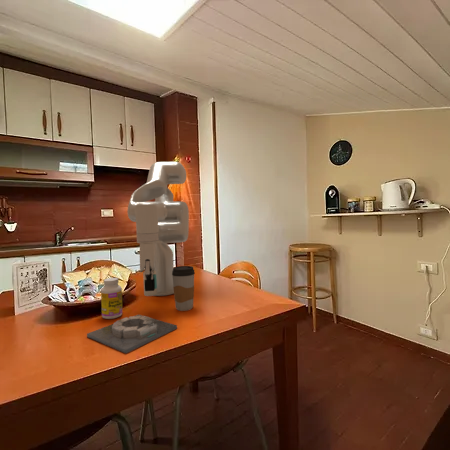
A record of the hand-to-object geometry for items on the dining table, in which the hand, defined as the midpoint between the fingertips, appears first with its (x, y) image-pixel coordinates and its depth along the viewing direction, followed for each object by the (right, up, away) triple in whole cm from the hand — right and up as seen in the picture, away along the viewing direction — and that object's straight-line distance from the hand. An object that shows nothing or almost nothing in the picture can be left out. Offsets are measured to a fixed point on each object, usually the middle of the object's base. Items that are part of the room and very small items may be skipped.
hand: (150, 287), depth 100 cm
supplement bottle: (-12, -9, -3) cm, 16 cm away
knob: (0, -2, 0) cm, 2 cm away
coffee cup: (+12, -8, +3) cm, 15 cm away
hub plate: (0, -9, -18) cm, 20 cm away
